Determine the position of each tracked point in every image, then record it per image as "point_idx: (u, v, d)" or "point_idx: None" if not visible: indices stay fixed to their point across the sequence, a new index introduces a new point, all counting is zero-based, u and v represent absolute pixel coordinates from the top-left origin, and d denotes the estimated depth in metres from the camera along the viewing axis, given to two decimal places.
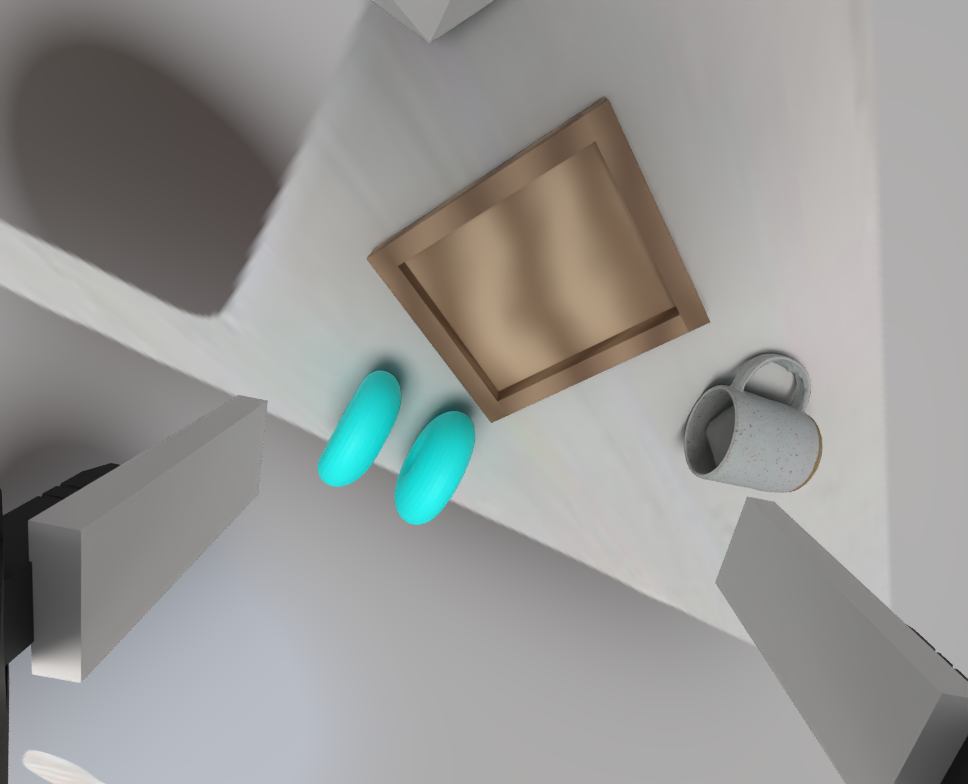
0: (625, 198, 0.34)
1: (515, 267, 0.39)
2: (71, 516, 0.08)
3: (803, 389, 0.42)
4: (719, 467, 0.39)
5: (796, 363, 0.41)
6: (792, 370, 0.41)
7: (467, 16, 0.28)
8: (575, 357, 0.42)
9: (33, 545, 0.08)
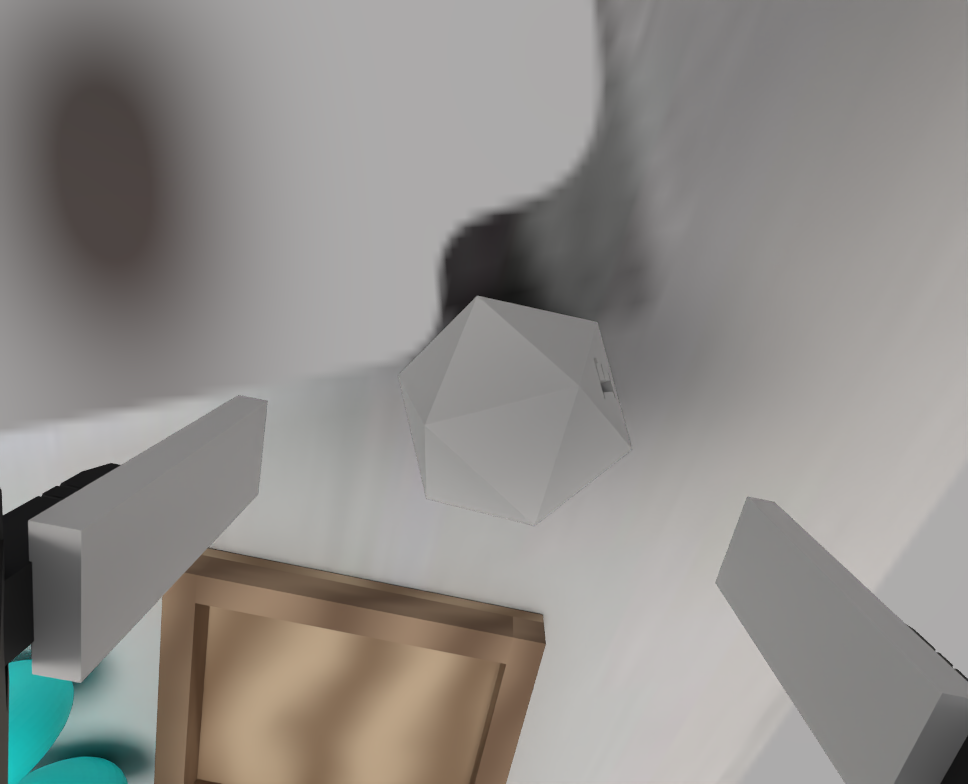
0: (491, 727, 0.28)
1: (330, 684, 0.29)
2: (71, 516, 0.08)
3: None
4: None
5: None
6: None
7: None
8: None
9: (33, 545, 0.08)
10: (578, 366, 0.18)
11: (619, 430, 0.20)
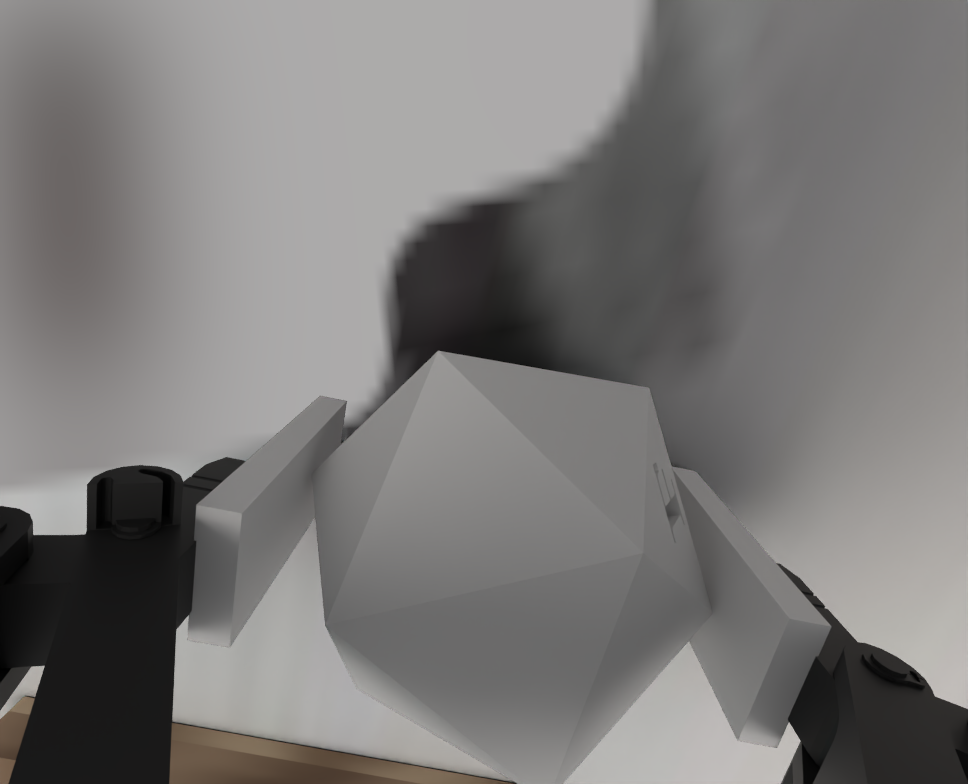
0: None
1: None
2: (229, 501, 0.09)
3: None
4: None
5: None
6: None
7: None
8: None
9: (199, 526, 0.09)
10: (633, 498, 0.09)
11: (697, 591, 0.11)
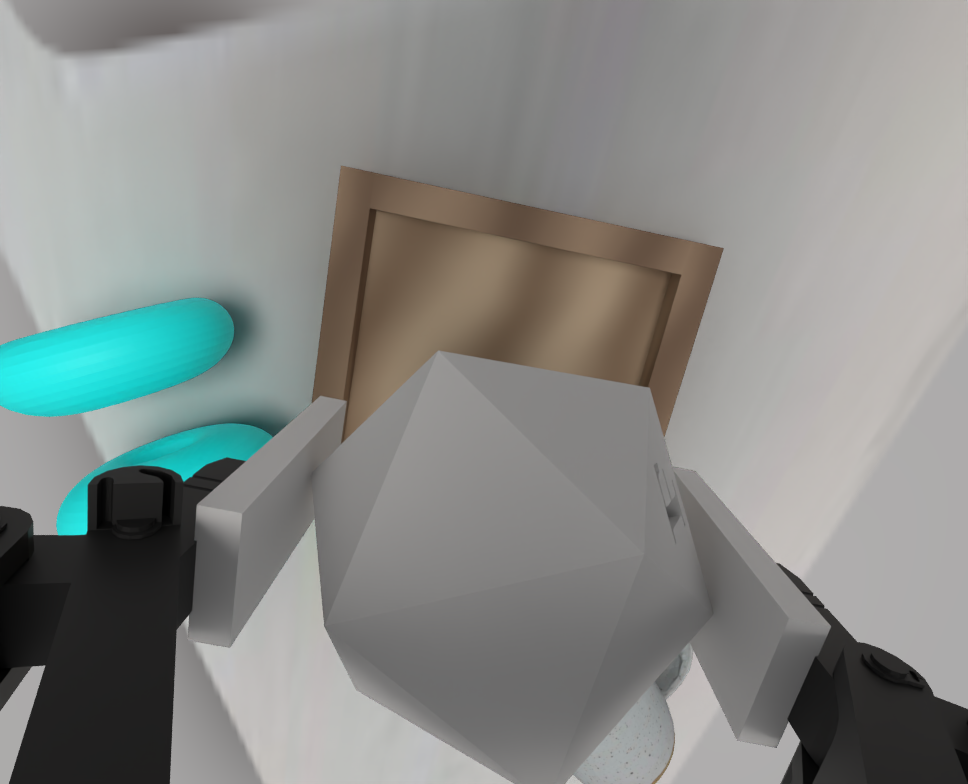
0: (659, 354, 0.27)
1: (489, 330, 0.29)
2: (229, 501, 0.09)
3: (676, 673, 0.33)
4: None
5: None
6: None
7: None
8: None
9: (200, 526, 0.09)
10: (634, 498, 0.09)
11: (698, 592, 0.11)
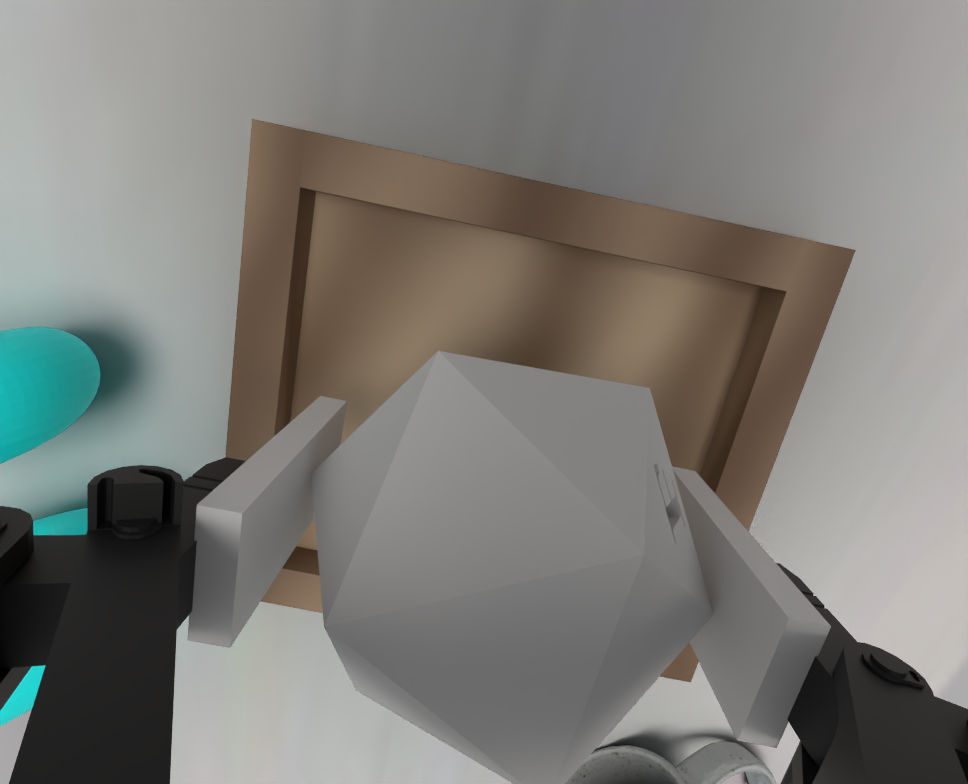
0: (747, 411, 0.18)
1: None
2: (229, 501, 0.09)
3: None
4: None
5: None
6: None
7: None
8: None
9: (199, 526, 0.09)
10: (634, 499, 0.09)
11: (698, 593, 0.11)
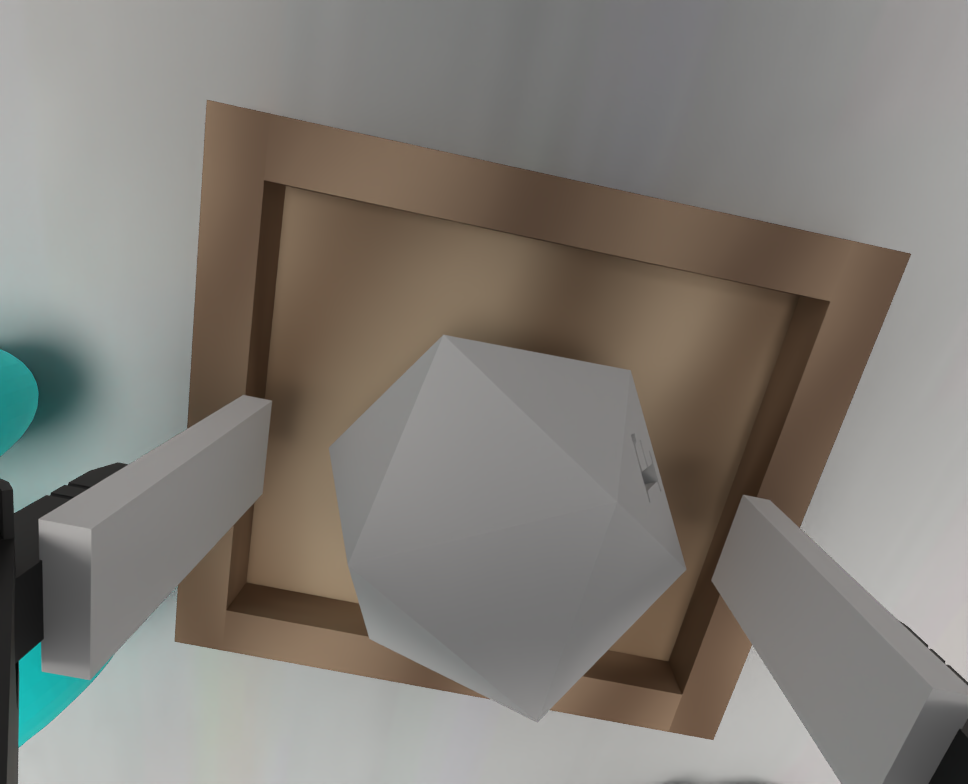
0: (782, 438, 0.16)
1: None
2: (81, 515, 0.08)
3: None
4: None
5: None
6: None
7: None
8: None
9: (44, 544, 0.08)
10: (611, 459, 0.10)
11: (670, 547, 0.12)
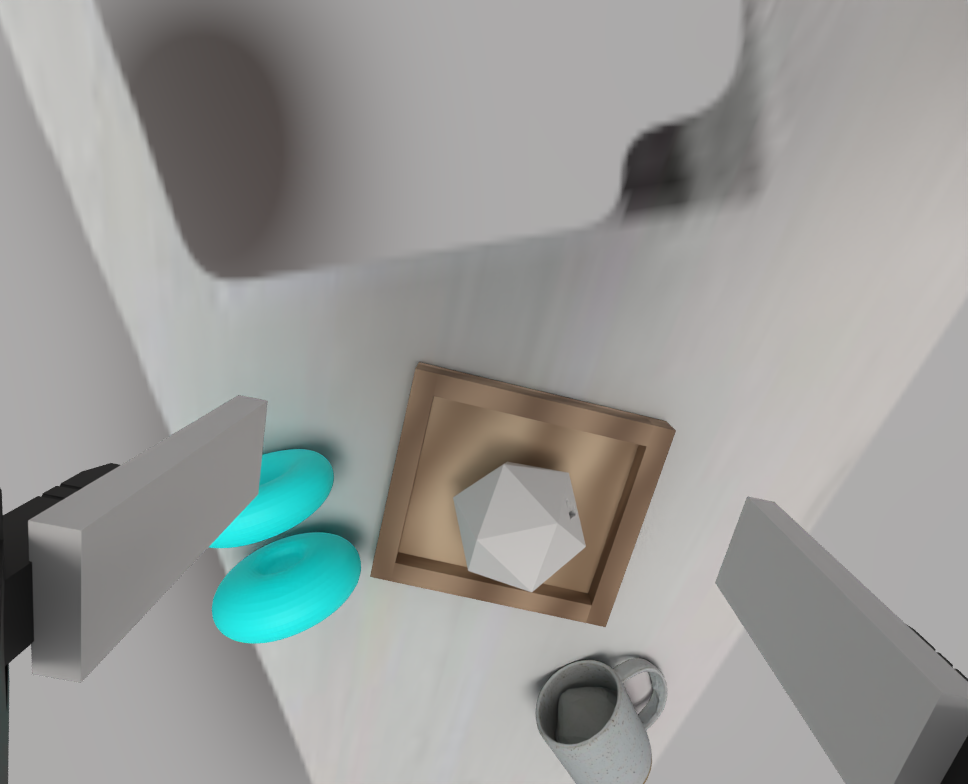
0: (630, 497, 0.39)
1: None
2: (71, 516, 0.08)
3: (654, 710, 0.45)
4: (578, 745, 0.39)
5: (665, 686, 0.44)
6: (657, 689, 0.45)
7: None
8: None
9: (33, 545, 0.08)
10: (557, 509, 0.34)
11: (578, 538, 0.36)
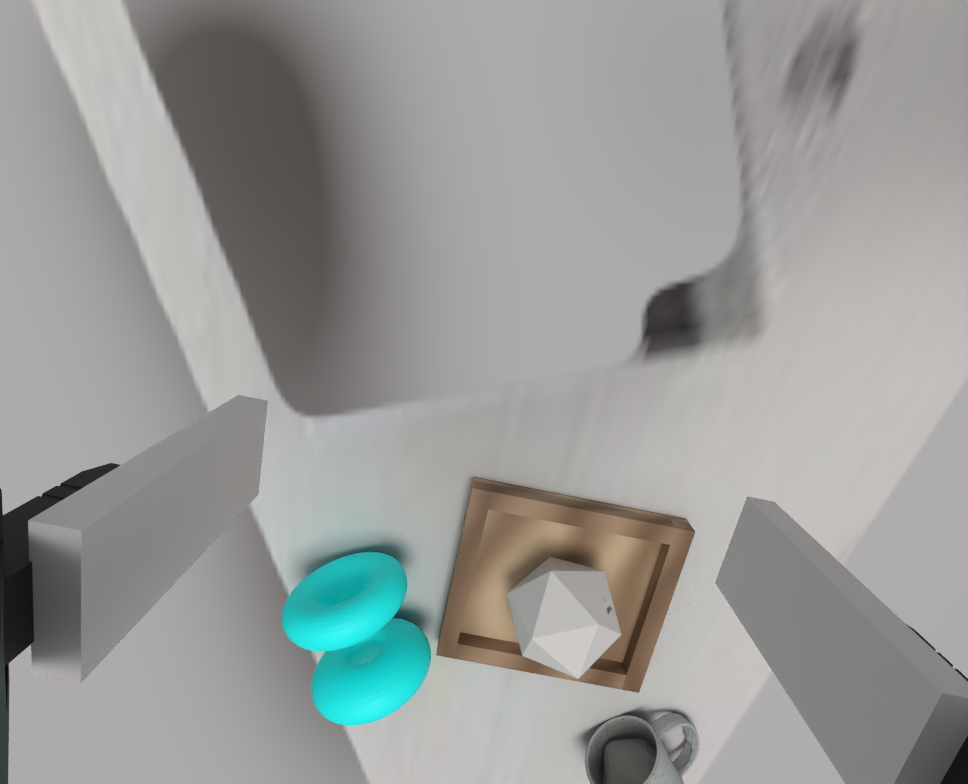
0: (657, 586, 0.46)
1: None
2: (71, 516, 0.08)
3: (688, 758, 0.51)
4: None
5: (697, 737, 0.51)
6: (690, 739, 0.51)
7: None
8: None
9: (33, 545, 0.08)
10: (597, 610, 0.40)
11: (615, 629, 0.42)
